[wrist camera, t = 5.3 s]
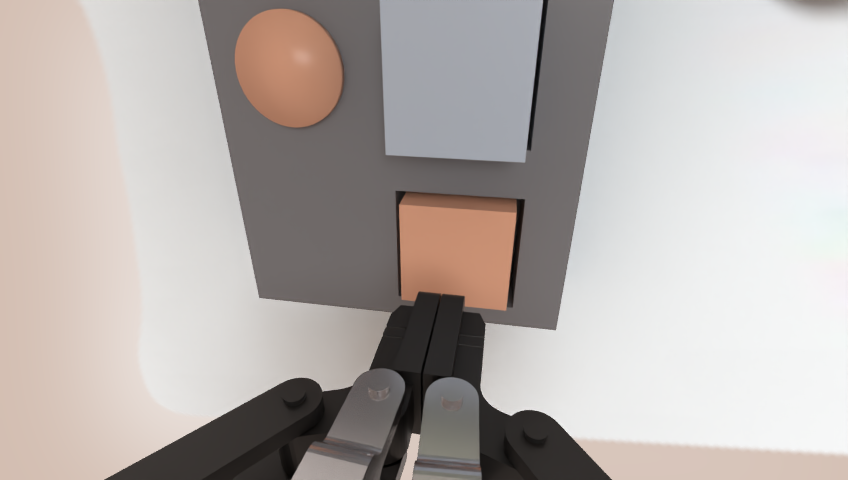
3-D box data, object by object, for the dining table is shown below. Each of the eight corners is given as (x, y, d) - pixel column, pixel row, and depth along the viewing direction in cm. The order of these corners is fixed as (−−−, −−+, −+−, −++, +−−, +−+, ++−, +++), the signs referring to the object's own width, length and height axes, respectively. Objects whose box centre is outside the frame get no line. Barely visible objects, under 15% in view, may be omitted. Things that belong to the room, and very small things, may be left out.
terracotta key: (414, 176, 20) (399, 204, 17) (515, 183, 19) (516, 212, 17) (415, 262, 22) (401, 299, 19) (507, 271, 22) (506, 310, 19)
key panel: (206, -276, 15) (114, -361, 12) (645, -321, 13) (695, -441, 9) (291, 261, 25) (255, 302, 21) (549, 285, 23) (556, 336, 19)
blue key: (403, 0, 15) (379, -1, 13) (537, 0, 15) (543, -1, 12) (405, 131, 17) (385, 154, 15) (523, 136, 17) (524, 162, 14)
